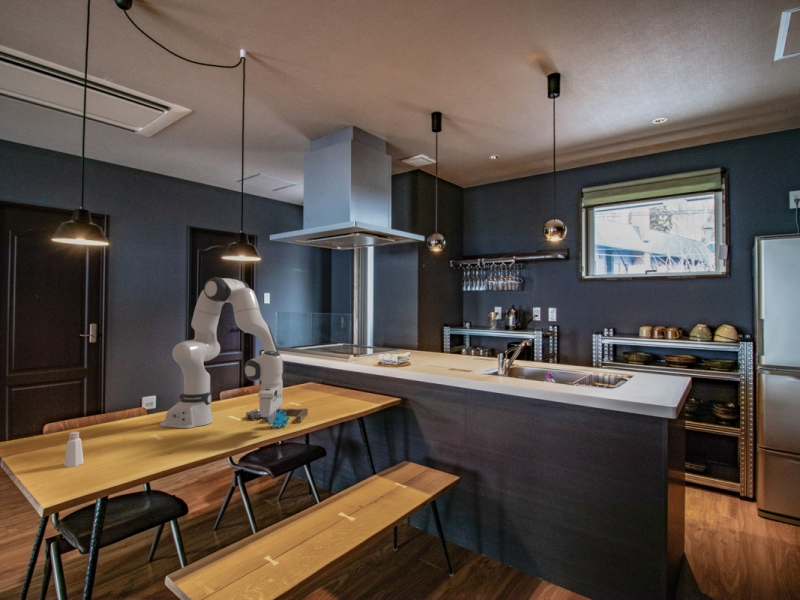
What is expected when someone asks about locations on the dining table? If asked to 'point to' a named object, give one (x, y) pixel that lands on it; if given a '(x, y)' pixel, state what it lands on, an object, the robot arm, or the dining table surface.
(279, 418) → the gear
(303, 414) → the brown bracket
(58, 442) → the dining table surface
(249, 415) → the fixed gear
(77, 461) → the pepper shaker
